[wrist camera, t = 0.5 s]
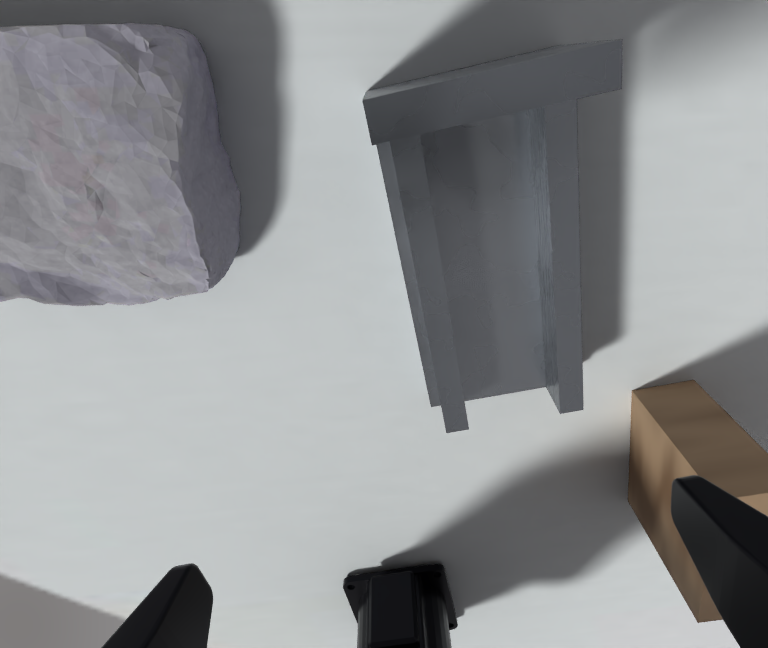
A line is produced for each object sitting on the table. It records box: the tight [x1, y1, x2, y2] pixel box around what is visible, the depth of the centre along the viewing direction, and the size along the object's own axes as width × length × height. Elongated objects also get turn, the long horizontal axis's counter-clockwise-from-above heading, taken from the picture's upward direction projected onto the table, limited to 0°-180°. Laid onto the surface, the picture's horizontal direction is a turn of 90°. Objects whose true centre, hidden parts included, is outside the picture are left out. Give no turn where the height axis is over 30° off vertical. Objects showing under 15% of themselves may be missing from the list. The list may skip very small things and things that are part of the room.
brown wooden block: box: [628, 380, 768, 623], centre depth 23 cm, size 8×3×7 cm, turn 12°
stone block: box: [0, 23, 241, 306], centre depth 18 cm, size 12×5×10 cm
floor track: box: [363, 39, 622, 433], centre depth 18 cm, size 14×7×5 cm, turn 12°
